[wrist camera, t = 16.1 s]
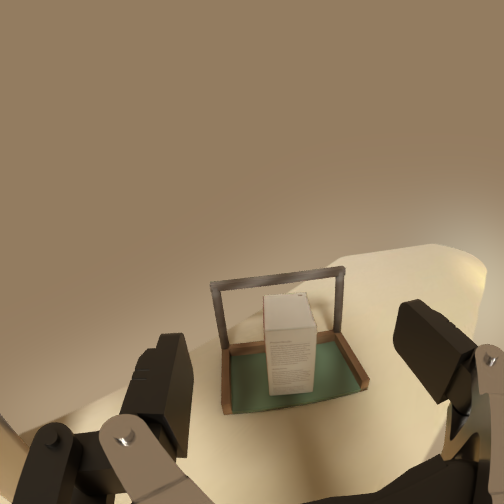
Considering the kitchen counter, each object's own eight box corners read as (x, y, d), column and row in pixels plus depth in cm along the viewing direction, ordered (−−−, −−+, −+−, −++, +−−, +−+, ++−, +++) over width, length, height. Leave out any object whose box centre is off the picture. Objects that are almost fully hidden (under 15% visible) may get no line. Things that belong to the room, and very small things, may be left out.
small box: (267, 357, 38) (262, 294, 35) (306, 354, 38) (306, 290, 34) (268, 397, 30) (262, 329, 27) (313, 393, 30) (317, 325, 27)
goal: (223, 414, 29) (202, 333, 25) (223, 355, 40) (210, 281, 36) (367, 389, 30) (383, 306, 26) (338, 338, 41) (342, 265, 37)
